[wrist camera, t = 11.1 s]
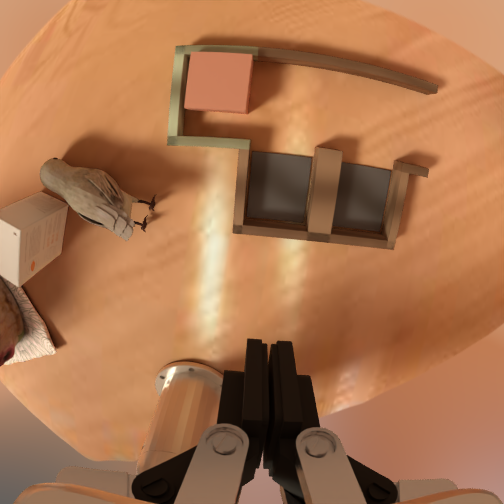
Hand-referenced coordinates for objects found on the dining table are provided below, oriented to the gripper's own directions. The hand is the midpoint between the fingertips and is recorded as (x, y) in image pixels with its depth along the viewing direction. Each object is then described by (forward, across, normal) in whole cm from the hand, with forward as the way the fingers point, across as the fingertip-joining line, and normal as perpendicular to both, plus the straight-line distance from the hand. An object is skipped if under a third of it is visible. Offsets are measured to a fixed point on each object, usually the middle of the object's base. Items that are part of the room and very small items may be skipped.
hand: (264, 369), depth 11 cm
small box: (+26, +29, +3) cm, 39 cm away
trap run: (+25, -4, -9) cm, 27 cm away
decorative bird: (+26, +20, -3) cm, 32 cm away
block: (+25, +5, -15) cm, 29 cm away
